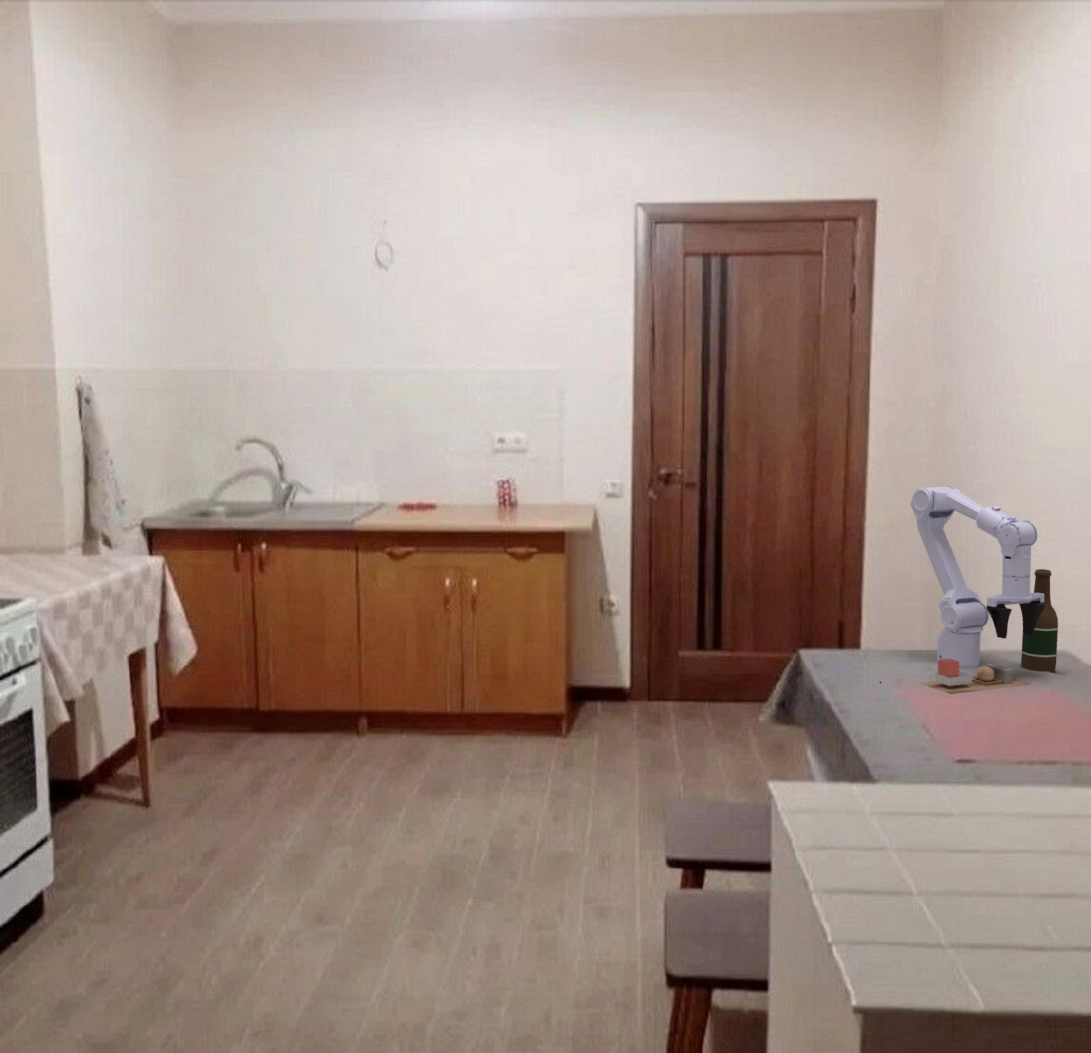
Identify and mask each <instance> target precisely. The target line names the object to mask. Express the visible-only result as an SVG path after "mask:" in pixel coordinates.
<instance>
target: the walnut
mask: <svg viewBox="0 0 1091 1053" xmlns="http://www.w3.org/2000/svg"><path fill="white" fill-rule="evenodd" d="M976 676H978V678H979V679H980V680H981V681H982V682H990V681H992V680H993V678H994V671H993V670H992V669H991V668H990V667H987V666H986V665H985V666H984V665H983V666H981V667H980V668H979V669H978V670H977V673H976Z"/></svg>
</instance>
